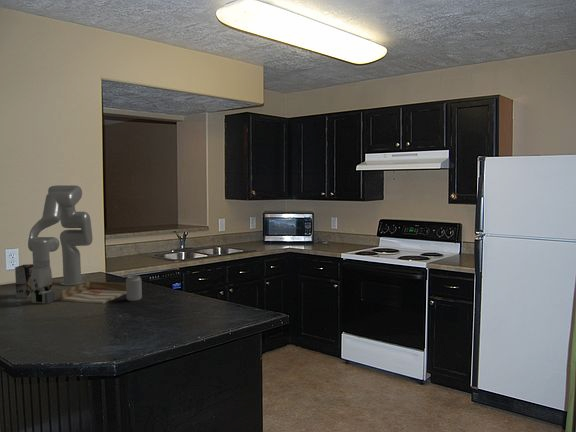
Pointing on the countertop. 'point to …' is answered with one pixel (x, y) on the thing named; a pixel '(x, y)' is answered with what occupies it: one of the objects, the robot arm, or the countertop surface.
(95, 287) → the corner guide
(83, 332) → the countertop surface
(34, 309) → the countertop surface
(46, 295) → the block
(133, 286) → the can
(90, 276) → the countertop surface
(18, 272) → the coffee box
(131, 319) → the countertop surface
